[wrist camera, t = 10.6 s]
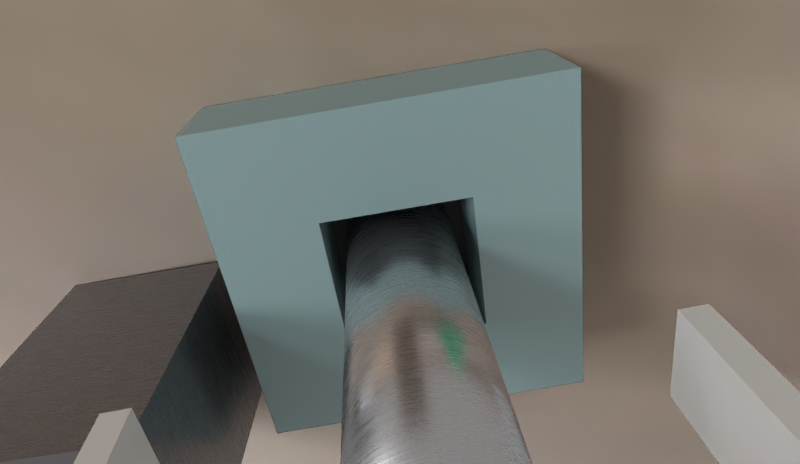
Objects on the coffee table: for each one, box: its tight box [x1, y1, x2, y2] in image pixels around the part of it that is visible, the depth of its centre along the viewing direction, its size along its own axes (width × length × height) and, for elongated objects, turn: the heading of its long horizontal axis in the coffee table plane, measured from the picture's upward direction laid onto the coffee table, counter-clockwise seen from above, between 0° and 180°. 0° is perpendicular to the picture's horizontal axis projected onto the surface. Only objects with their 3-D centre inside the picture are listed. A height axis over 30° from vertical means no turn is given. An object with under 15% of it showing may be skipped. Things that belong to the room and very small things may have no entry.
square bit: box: [0, 262, 262, 464], centre depth 19 cm, size 6×6×9 cm
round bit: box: [341, 203, 532, 464], centre depth 16 cm, size 4×4×14 cm
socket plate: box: [175, 49, 583, 433], centre depth 21 cm, size 12×12×4 cm
